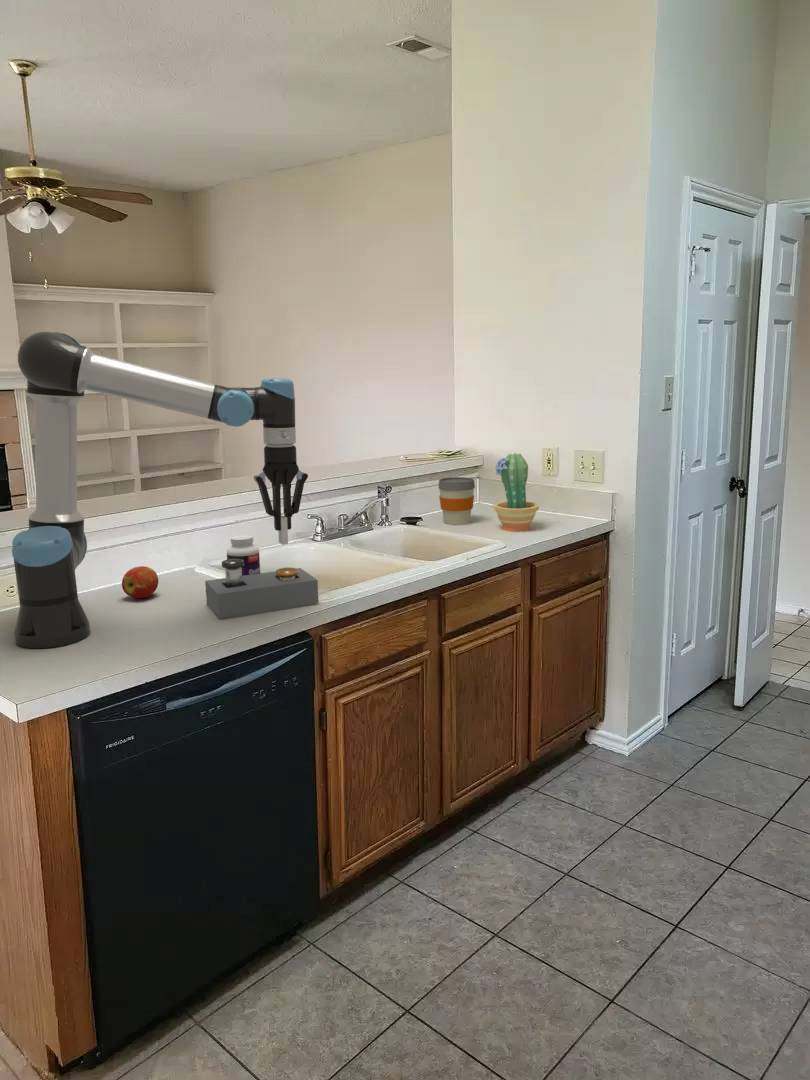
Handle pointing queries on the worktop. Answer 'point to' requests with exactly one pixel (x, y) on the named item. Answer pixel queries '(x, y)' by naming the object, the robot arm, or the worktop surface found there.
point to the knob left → (233, 572)
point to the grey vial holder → (261, 594)
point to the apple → (140, 582)
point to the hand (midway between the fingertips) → (283, 543)
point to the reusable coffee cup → (456, 499)
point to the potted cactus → (514, 494)
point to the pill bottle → (245, 553)
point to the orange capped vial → (286, 573)
